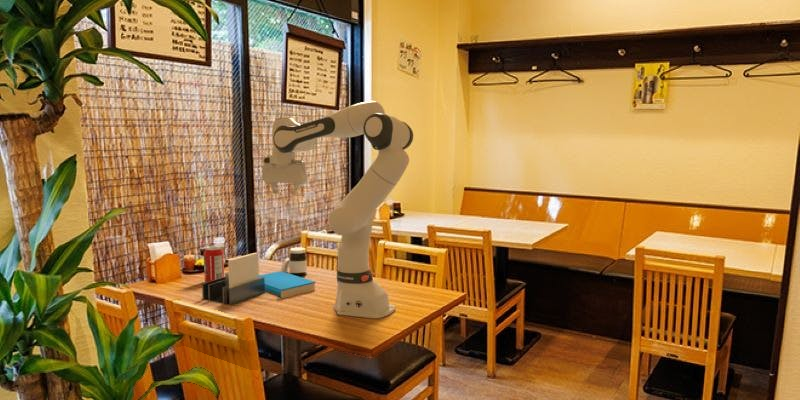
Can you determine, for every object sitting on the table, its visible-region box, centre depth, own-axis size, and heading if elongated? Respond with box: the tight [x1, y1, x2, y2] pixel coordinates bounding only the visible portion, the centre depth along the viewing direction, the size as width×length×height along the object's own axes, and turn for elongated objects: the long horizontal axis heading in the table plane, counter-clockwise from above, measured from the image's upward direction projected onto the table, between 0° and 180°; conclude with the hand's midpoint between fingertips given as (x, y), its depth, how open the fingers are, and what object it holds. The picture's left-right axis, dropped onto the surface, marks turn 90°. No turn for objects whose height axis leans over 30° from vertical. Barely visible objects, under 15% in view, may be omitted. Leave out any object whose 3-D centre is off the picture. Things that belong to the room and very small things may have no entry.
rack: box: [201, 271, 266, 306], centre depth 208 cm, size 16×18×10 cm
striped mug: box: [280, 246, 308, 277], centre depth 246 cm, size 12×11×12 cm
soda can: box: [203, 246, 225, 283], centre depth 230 cm, size 8×8×15 cm
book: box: [259, 270, 316, 299], centre depth 223 cm, size 17×4×25 cm
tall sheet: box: [227, 252, 260, 289], centre depth 205 cm, size 2×14×16 cm, turn 152°
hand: (284, 194), depth 216 cm, fingers open, 8 cm apart
